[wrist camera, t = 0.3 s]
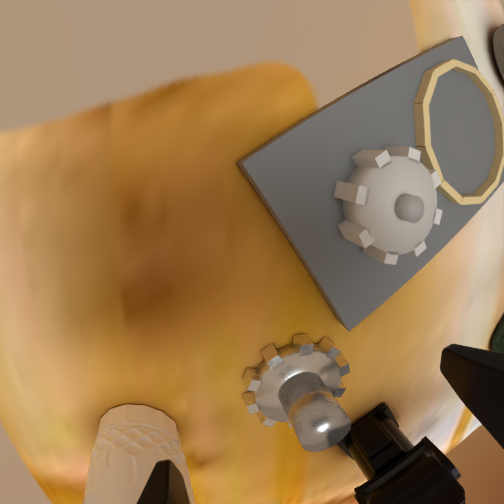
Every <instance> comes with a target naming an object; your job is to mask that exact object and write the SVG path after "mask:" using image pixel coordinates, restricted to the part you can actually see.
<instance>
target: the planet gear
mask: <svg viewBox="0 0 504 504" xmlns="http://www.w3.org/2000/svg"><path fill="white" fill-rule="evenodd" d="M340 352H341V351H340V350H339V349H338V348H337V346H336V345H335V344H334V343H333V342H332V341H330V340H329V339H327V338H326V337H323V339H322V340H321V341H320V342H319V343H318V344H314V343H313V342H312V341H311V340H310V338H309V337H308V336H307V334H298V335H293V341H292V344H291V345H288V346H285V347H282V348H280V349H278V350H277V349H276V348H275V347H274V345H273V344H271V345H269V346H268V347H266V348H265V349H264V350H262V351H261V353H262V355H263V357H264V359H265V360H264V361H263V362H262V363H261V364H260V365H259V366H258V368H257V369H252V368H247V369H246V371H245V373H244V376H243V381H244V383H245V386H246V389H247V390H249V392H247V393H244V394H242V395H243V398H244V401H245V404H246V406H247V409H248V411H249V413H250V414H253V413H256V412H257V413H258V416H259V418H260V421H261V424H263V425H266V426H269V427H271V426H273V425H274V424H275V423H276V422H277V421H280V422H286V423H287V425H288V427H293V429H294V431H295V433H296V435H297V437H298V439H299V441H300V443H301V445H302V447H303V448H304V449H305V450H307V451H311V452H316V451H322V450H325V449H328V448H330V447H332V446H334V445H336V444H337V443H339V442H340V441H341V440H342V439H343V438H344V437H345V436H346V435H347V434H348V432H349V431H350V428H351V420H350V419H349V417H348V416H347V414H346V413H345V412H344V410H343V409H342V407H341V406H340V405H339V403H338V402H337V400H336V399H335V397H341V396H342V394H343V393H344V391H345V389H346V387H345V386H344V385H343V383H342V382H341V376H344V375H346V374H348V373H350V368H349V363H348V362H347V361H346V360H345V359H344V357H343V356H342V355H341V354H339V353H340ZM338 354H339V355H338Z"/></svg>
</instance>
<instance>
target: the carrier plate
mask: <svg viewBox="0 0 504 504" xmlns="http://www.w3.org/2000/svg"><path fill="white" fill-rule="evenodd" d="M237 164H238V165H239V167H240V168H241V170H242V171H243V173H244V174H245V176H246V177H247V179H248V180H249V182H250V183H251V185H252V186H253V188H254V189H255V191H256V192H257V194H258V195H259V197H260V198H261V200H262V201H263V203H264V204H265V206H266V207H267V209H268V210H269V212H270V213H271V215H272V216H273V218H274V219H275V221H276V222H277V224H278V225H279V227H280V228H281V230H282V232H283V233H284V235H285V236H286V238H287V239H288V241H289V242H290V244H291V245H292V247H293V249H294V250H295V252H296V253H297V255H298V256H299V258H300V259H301V261H302V263H303V264H304V266H305V267H306V269H307V270H308V272H309V274H310V275H311V277H312V278H313V280H314V282H315V283H316V285H317V286H318V288H319V289H320V291H321V293H322V294H323V296H324V298H325V299H326V301H327V302H328V304H329V306H330V307H331V309H332V310H333V312H334V314H335V315H336V317H337V319H338V320H339V322H340V323H341V324H342V325H343V326H344V327H345V328H346V329H347V330H348V331H350V330H351V329H352V328H354V327H355V326H356V325H357V324H359V323H360V322H361V321H362V320H364V319H365V318H366V317H367V316H368V315H370V314H371V313H372V312H373V311H374V310H376V309H377V308H378V307H379V306H380V305H381V304H383V303H384V302H385V301H386V300H387V299H388V298H390V297H391V296H392V295H393V294H394V293H395V292H396V291H397V290H399V289H400V288H401V287H402V286H403V285H404V284H405V283H406V282H407V281H409V280H410V279H411V278H412V277H413V276H414V275H415V274H416V273H417V272H418V271H419V270H420V269H422V268H423V267H424V266H425V265H426V264H427V263H428V262H429V261H430V260H431V259H432V258H433V257H434V256H435V255H436V254H437V253H438V252H439V251H440V250H441V249H442V248H443V247H444V246H445V245H446V244H447V243H448V242H449V241H450V240H451V239H452V238H453V237H454V236H455V235H456V234H457V233H458V232H459V231H460V230H461V229H462V228H463V227H464V226H465V225H466V224H467V222H468V221H469V220H470V219H471V218H472V217H473V216H474V215H475V214H476V213H477V212H478V211H479V209H480V208H481V207H482V206H483V205H484V204H485V203H486V202H487V200H488V199H489V198H490V197H491V196H492V195H493V194H494V192H495V191H496V190H497V189H498V188H499V187H500V185H501V184H502V183H503V182H504V118H503V115H502V112H501V109H500V106H499V103H498V100H497V97H496V94H495V92H494V90H493V89H492V87H491V86H490V85H489V83H488V82H487V81H486V80H485V78H484V77H483V76H482V75H481V73H480V72H479V70H478V68H477V65H476V63H475V61H474V59H473V56H472V54H471V52H470V50H469V48H468V46H467V44H466V42H465V40H464V38H463V36H460V37H456V38H452V39H449V40H447V41H445V42H443V43H441V44H439V45H436V46H434V47H432V48H430V49H428V50H426V51H424V52H422V53H420V54H418V55H416V56H414V57H412V58H410V59H408V60H407V61H404V62H402V63H400V64H398V65H397V66H395V67H393V68H391V69H389V70H387V71H385V72H383V73H382V74H380V75H378V76H376V77H374V78H373V79H371V80H369V81H367V82H365V83H363V84H362V85H360V86H358V87H356V88H354V89H353V90H351V91H350V92H348V93H346V94H344V95H342V96H341V97H339V98H337V99H335V100H334V101H332V102H331V103H329V104H327V105H325V106H324V107H322V108H320V109H319V110H317V111H315V112H314V113H312V114H310V115H309V116H307V117H306V118H304V119H302V120H301V121H299V122H297V123H296V124H294V125H293V126H291V127H290V128H288V129H286V130H285V131H283V132H282V133H280V134H279V135H277V136H276V137H274V138H272V139H271V140H269V141H268V142H266V143H265V144H263V145H262V146H260V147H259V148H257V149H256V150H254V151H253V152H251V153H250V154H248V155H247V156H245V157H244V158H242V159H241V160H240V161H238V162H237Z"/></svg>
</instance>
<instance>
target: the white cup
mask: <svg viewBox="0 0 504 504" xmlns="http://www.w3.org/2000/svg"><path fill="white" fill-rule="evenodd" d="M166 459H170V460H171V461H172V462H173V463H174V464H175V466H176V467H177V468H178V469H179V471H180V472H181V474H182V475H183V478H184V482H185V485H186V489H187V493H188V497H189V501H190V504H196V502H195V498H194V494H193V489H192V485H191V480H190V476H189V472H188V468H187V464H186V460H185V455H184V452H183V450H182V446H181V440H180V434H179V432H178V429H177V426H176V424H175V422H174V421H173V420H172V419H171V418H170V417H168V416H167V415H166V414H165V413H164V412H162V411H159V410H157V409H154V408H151V407H148V406H145V405H129V404H126V405H122V406H119V407H115V408H112V409H110V410H109V411H108V412H107V413H106V414H105V415H104V416H103V417H102V418H101V420H100V424H99V429H98V434H97V439H96V442H95V445H94V446H93V451H92V455H91V460H90V463H89V468H88V474H87V480H86V486H85V492H84V499H83V504H136V503H137V501H138V499H139V497H140V495H141V493H142V491H143V489H144V487H145V485H146V483H147V480H148V478H149V476H150V474H151V472H152V470H153V468H154V466H155V464H156V462H158V461H161V460H166Z"/></svg>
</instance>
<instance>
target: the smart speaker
mask: <svg viewBox="0 0 504 504" xmlns="http://www.w3.org/2000/svg"><path fill="white" fill-rule="evenodd" d="M493 54H494V59H495V62H496V66H497V68H498V71H499V73H500V75H501V77H502V79H503V81H504V24H503V25H501V26H500V27H499V28H498V29H497V30H496V31H495V33H494V36H493Z"/></svg>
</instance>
